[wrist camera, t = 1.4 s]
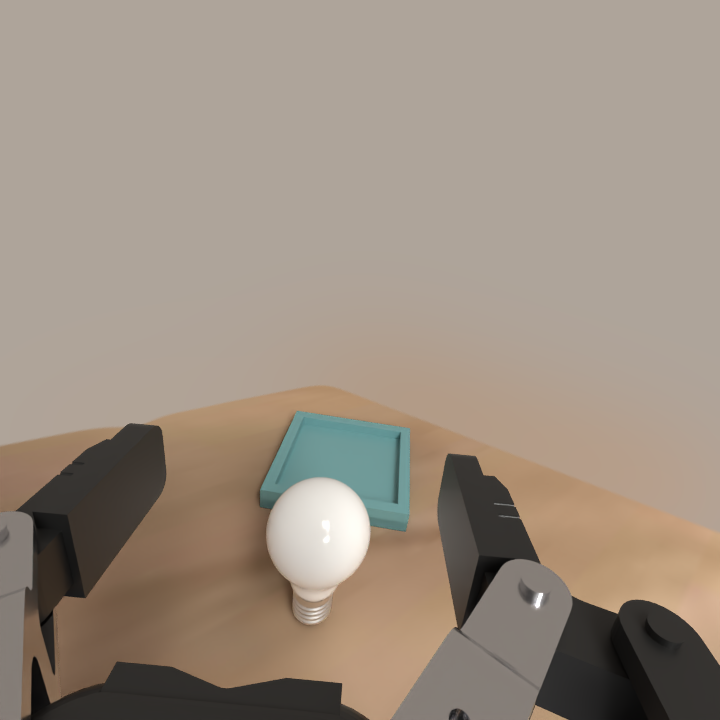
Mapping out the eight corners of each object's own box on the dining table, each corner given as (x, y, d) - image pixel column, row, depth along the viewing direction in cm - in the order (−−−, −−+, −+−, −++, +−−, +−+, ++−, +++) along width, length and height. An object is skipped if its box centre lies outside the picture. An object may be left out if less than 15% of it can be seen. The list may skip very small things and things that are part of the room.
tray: (259, 507, 37) (260, 489, 36) (296, 425, 49) (297, 410, 48) (405, 531, 37) (409, 514, 36) (407, 442, 48) (409, 428, 47)
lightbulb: (246, 608, 29) (244, 485, 24) (316, 556, 33) (326, 443, 29) (304, 684, 25) (316, 556, 20) (375, 615, 29) (398, 496, 25)
